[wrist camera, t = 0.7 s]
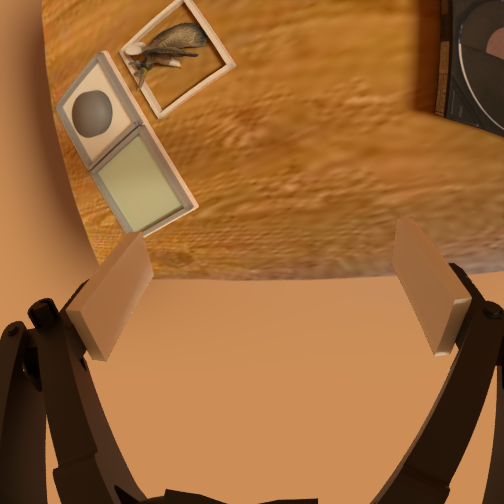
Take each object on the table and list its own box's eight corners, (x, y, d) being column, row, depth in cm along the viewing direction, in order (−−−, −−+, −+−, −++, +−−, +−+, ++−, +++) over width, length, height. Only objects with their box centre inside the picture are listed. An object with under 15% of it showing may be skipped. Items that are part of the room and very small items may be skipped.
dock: (63, 103, 41) (49, 106, 38) (106, 50, 34) (92, 51, 32) (141, 238, 49) (130, 247, 47) (199, 206, 43) (188, 215, 40)
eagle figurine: (163, 101, 35) (213, 66, 30) (114, 84, 30) (162, 39, 24) (165, 58, 36) (212, 23, 30) (122, 40, 30) (167, -3, 25)
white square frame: (123, 51, 34) (118, 51, 33) (188, -6, 28) (184, -7, 27) (162, 118, 38) (158, 119, 37) (236, 66, 31) (233, 65, 31)
